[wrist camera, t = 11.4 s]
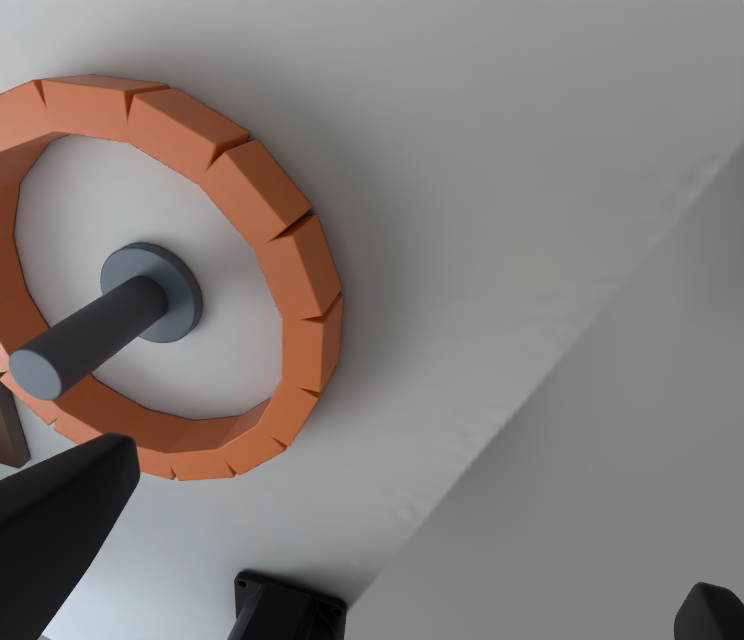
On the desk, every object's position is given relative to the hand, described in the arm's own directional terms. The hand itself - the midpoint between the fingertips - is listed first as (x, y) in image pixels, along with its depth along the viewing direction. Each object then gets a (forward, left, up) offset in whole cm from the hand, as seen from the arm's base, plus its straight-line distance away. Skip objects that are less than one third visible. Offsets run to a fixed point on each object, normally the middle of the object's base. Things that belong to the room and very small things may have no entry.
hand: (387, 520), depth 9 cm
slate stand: (-4, +12, -12) cm, 18 cm away
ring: (-4, +12, -12) cm, 18 cm away
